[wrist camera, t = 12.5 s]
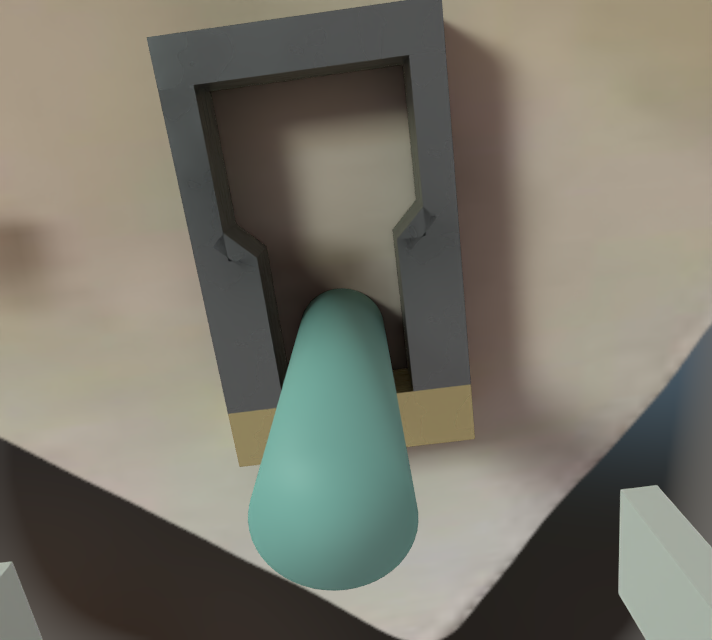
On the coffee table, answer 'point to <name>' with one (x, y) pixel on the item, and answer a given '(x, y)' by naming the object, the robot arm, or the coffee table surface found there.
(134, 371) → the coffee table surface
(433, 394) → the keyhole plate
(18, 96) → the coffee table surface
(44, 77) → the coffee table surface
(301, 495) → the peg
